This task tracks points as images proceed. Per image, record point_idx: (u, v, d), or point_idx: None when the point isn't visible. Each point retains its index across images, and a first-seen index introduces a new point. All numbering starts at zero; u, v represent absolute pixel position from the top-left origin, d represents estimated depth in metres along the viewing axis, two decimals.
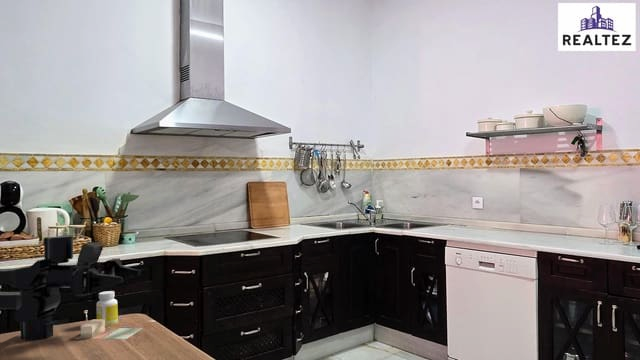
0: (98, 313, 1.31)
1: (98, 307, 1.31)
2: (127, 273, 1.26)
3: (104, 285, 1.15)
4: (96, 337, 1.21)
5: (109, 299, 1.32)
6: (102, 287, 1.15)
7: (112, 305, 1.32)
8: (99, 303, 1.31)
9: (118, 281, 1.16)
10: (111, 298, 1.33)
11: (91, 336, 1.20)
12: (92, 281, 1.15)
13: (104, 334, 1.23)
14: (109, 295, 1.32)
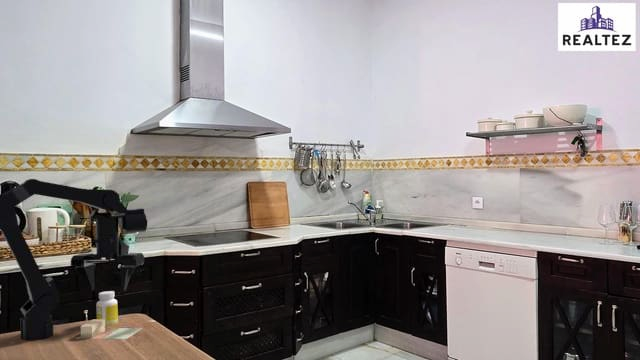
0: (98, 313, 1.31)
1: (98, 307, 1.31)
2: (91, 279, 1.34)
3: (126, 277, 1.32)
4: (96, 337, 1.21)
5: (109, 299, 1.32)
6: (126, 276, 1.31)
7: (112, 305, 1.32)
8: (99, 303, 1.31)
9: (124, 288, 1.33)
10: (111, 298, 1.33)
11: (91, 336, 1.20)
12: None
13: (104, 334, 1.23)
14: (109, 295, 1.32)
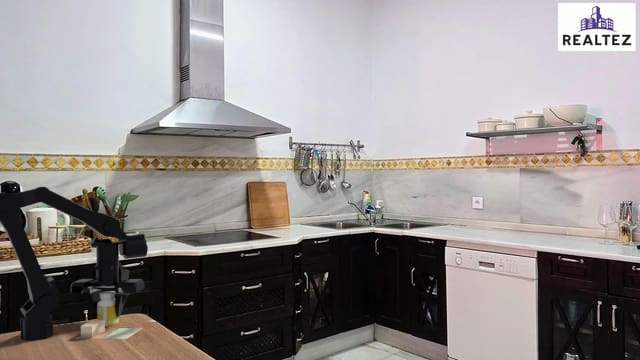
0: (99, 313, 1.31)
1: (99, 307, 1.31)
2: None
3: (120, 304, 1.32)
4: (96, 337, 1.21)
5: (110, 299, 1.32)
6: (120, 303, 1.31)
7: (112, 305, 1.32)
8: (100, 303, 1.31)
9: (118, 314, 1.33)
10: (112, 298, 1.32)
11: (91, 336, 1.20)
12: None
13: (104, 334, 1.23)
14: (110, 295, 1.32)
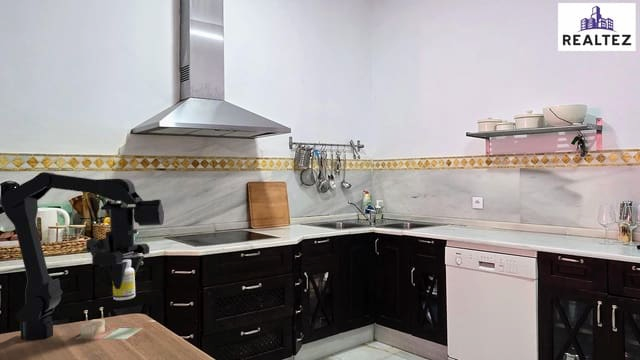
0: (130, 281, 1.23)
1: (130, 274, 1.23)
2: None
3: None
4: (96, 337, 1.21)
5: None
6: None
7: None
8: (129, 270, 1.24)
9: None
10: None
11: (91, 336, 1.20)
12: None
13: (104, 334, 1.23)
14: None
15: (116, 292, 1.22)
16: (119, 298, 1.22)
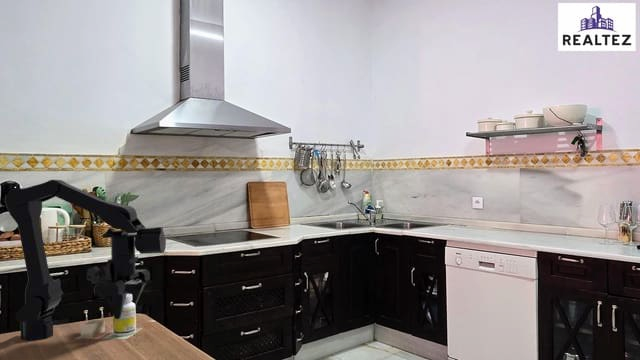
0: (131, 316, 1.22)
1: (131, 310, 1.22)
2: None
3: None
4: (96, 337, 1.21)
5: None
6: None
7: None
8: (131, 305, 1.23)
9: None
10: None
11: (91, 336, 1.20)
12: None
13: (104, 334, 1.23)
14: None
15: (117, 328, 1.21)
16: (120, 334, 1.21)
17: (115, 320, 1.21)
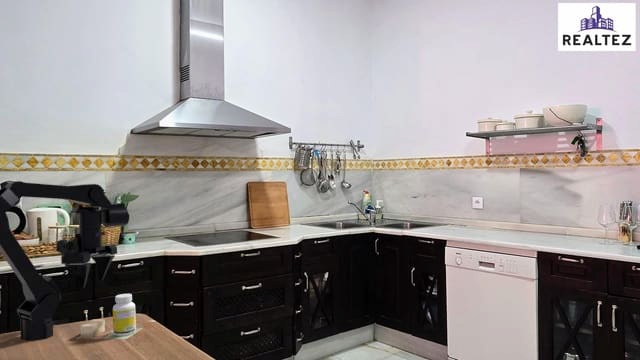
0: (131, 316, 1.22)
1: (131, 310, 1.22)
2: None
3: None
4: (96, 337, 1.21)
5: None
6: None
7: None
8: (130, 305, 1.23)
9: None
10: None
11: (91, 336, 1.20)
12: None
13: (104, 334, 1.23)
14: None
15: (117, 328, 1.21)
16: (120, 334, 1.21)
17: (115, 320, 1.21)
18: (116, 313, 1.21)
